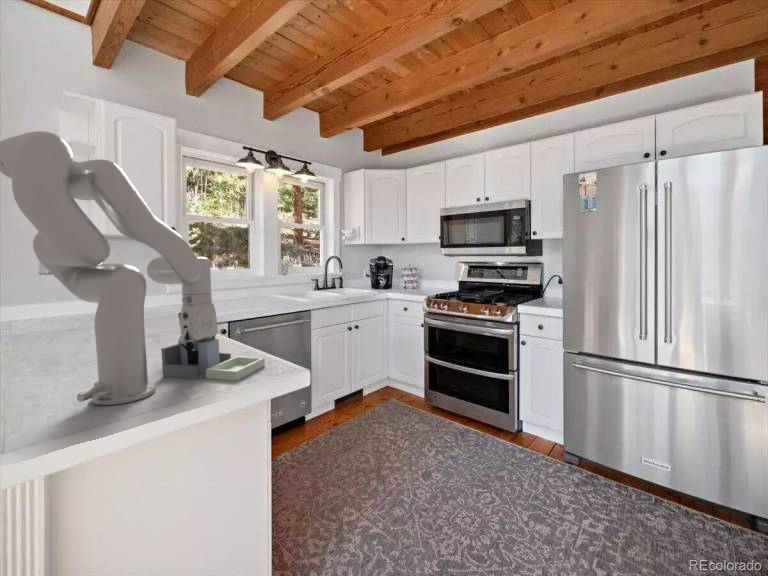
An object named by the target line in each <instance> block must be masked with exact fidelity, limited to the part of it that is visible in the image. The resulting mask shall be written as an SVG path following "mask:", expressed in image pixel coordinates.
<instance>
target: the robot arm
mask: <svg viewBox="0 0 768 576" xmlns="http://www.w3.org/2000/svg"><path fill="white" fill-rule="evenodd" d="M73 155H74V154H73V152H72V149H71V147H70V146H69V144H68V143H67V141H65V139H63V138H62V137H61V136H59V135H58V134H55V133H53V132H49V131H45V130H44V131H42V130H39V131H30V132H26V133H25V132H24V133H21V134H18V135H16V136H11V137H9V138H4V139H3V140H0V174H2V175H4V176H6V177H7V178H9V179H11V189H12V194H13V197H14V198H13V199H14V201H15V202H16V204H17V207H18V209H19V210H20V211H21V213H22V214H23V216H24V217H25V218H26V219H27V220H28V221H29V222H30V223H31V224H32V225H33V227H34V229H36V230H37V231H38V232H37V233H36V234H35V236H34V238H33V240H32V241H33V242H32V248H33V251H34V255H35V256H36V258H37V259H38V261H39V262H40V263H41V264H42V265H43V267H44V268H45V269H46V270H47V271H49V272H50V273H51V274H52V275H53V276H54V277H55V278H56V279H57V280H58V282H60V283H61V284H62V285H63V287H65V288H66V289H67V290H68V291H69V292H70V293H71V294H73V295H74V296H75V297H76V298H78V299H79V300H81V301H84V302H88V303H94V304H97V308H96V311H95V316H94V325H93V326H94V337H95V350H96V362H97V363H96V365H97V377H98V381H96V382H93V387H92V388H91V389H90V390H85V391H83V392H79V393H78V394H77V395H76V399H77V401H78V402H79V403H82V402H85V401H87V400H88V401H89V400H91V403H92V404H94V405H99V406H112V405H113V406H114V405H116V406H117V405H122V404H127V403H128V404H129V403H131V402H135V401H139V400H141V399H145V398H147V397H149V396H151V395H153V394H154V393H155V392H156V391H157V390H156V389H157V387H156V384H154V383H153V382H149V378H148V376H149V375H148V363H147V362H148V360H147V349H146V348H147V347H146V345H147V344H146V334H145V333H146V330H145V302H146V295H147V281H146V280H147V279H146V278H145V276H144V274H143V272H141V270H139V269H138V268H136V267H135V266H133V265H130V264H126V263H121V262H120V263H117V262H115V263H114V262H111V263H105V261H107V260H108V258H109V257H110V255H111V246H110V243H109V241H108V239H107V238H106V236H105V235H104V234H103V233H102V232H101V230H99V228H98V227H97V226H96V224H94V223H93V221H92V220H91V219H90V218H89V216H88V215H87V214H86V213H85V212H84V210H83V209H82V208H81V207H80V205H79V204H78V203H77V201H76V199H77V200H80V201H92V200H94V202H95V204H97V206H99V208H100V209H101V211H102V212H103V213H104V214H105V216H106V217H107V219H108V220H109V221H110V222H111V223H112V224H113V226H114V228H116V230H117V231H118V232H119V233H120V234H121V235H123V236H125V237H127V238H129V239H130V240H133V241H135V242H138V243H140V244H143V245H145V246H147V247H149V248H150V249H152V250H154V251H156V252H157V253H158V254H159V255H160V256H158V257H155V258H153V259H151V261H150V262H148V265H147V267H146V272H147V276H148V277H149V279H151V280H152V281H154V282H155V283H158V284H161V285H181V293H182V297H181V302H182V306H181V310H180V313H181V328H180V337H179V338H178V341H177V344H180V345H182V346H183V347H184V348H185V351H187V359H188V364H191V365H197V364H199V362H198V351H196V348H197V342H198V341H199V340H203V339H210V338H213V337H215V338H216V337H217V335H218V332H219V330H218V328H219V327H218V320H217V311H216V308H215V304H214V303H213V298H212V297H213V296H212V277H211V274H212V273H211V262H210V261H211V260H210V259H209V258H208V257H205V256H197V254H195V252H194V250H193V248H192V247H191V246H190V245H189V243H188V242H187V241H186V240H185V239H184V238H183V237H182V236H181V235H180V234H179V233H177V232H176V231H175V230H174V229H172V228H171V227H170V226H169V225H167V224H166V223H164V222H163V221H162V220H160V219H159V218H158V217H157V216H156V215H155V214H154V213H153V212H152V211H151V209H150V207H149V206H148V205H147V203H146V202H145V200H144V198H142V196H141V195H140V193H139V191H138V189H136V187H135V186H134V184H133V183H132V182H131V180H130V179H129V177H128V176H127V175H126V173H125V172H124V170H123V169H122V167H120V166H119V165H118V164H117V163H116V162H114V161H111V160H108V159H89V160H86V161H85V160H84V161H80V162H79V161H75V160H74V156H73ZM191 342H193V344H192V345H191Z"/></svg>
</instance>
